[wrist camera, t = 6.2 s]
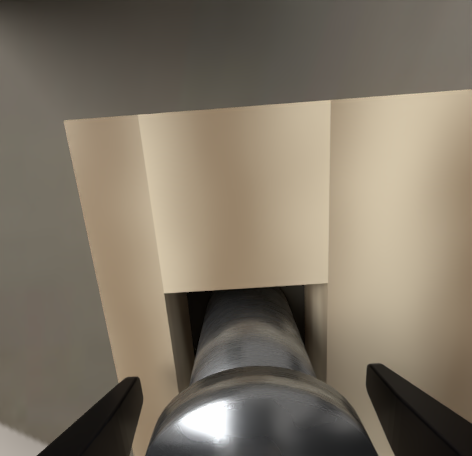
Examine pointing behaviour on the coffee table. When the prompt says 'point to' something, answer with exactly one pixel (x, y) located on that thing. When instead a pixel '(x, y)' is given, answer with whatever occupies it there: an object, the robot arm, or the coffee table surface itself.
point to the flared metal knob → (256, 389)
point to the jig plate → (289, 236)
